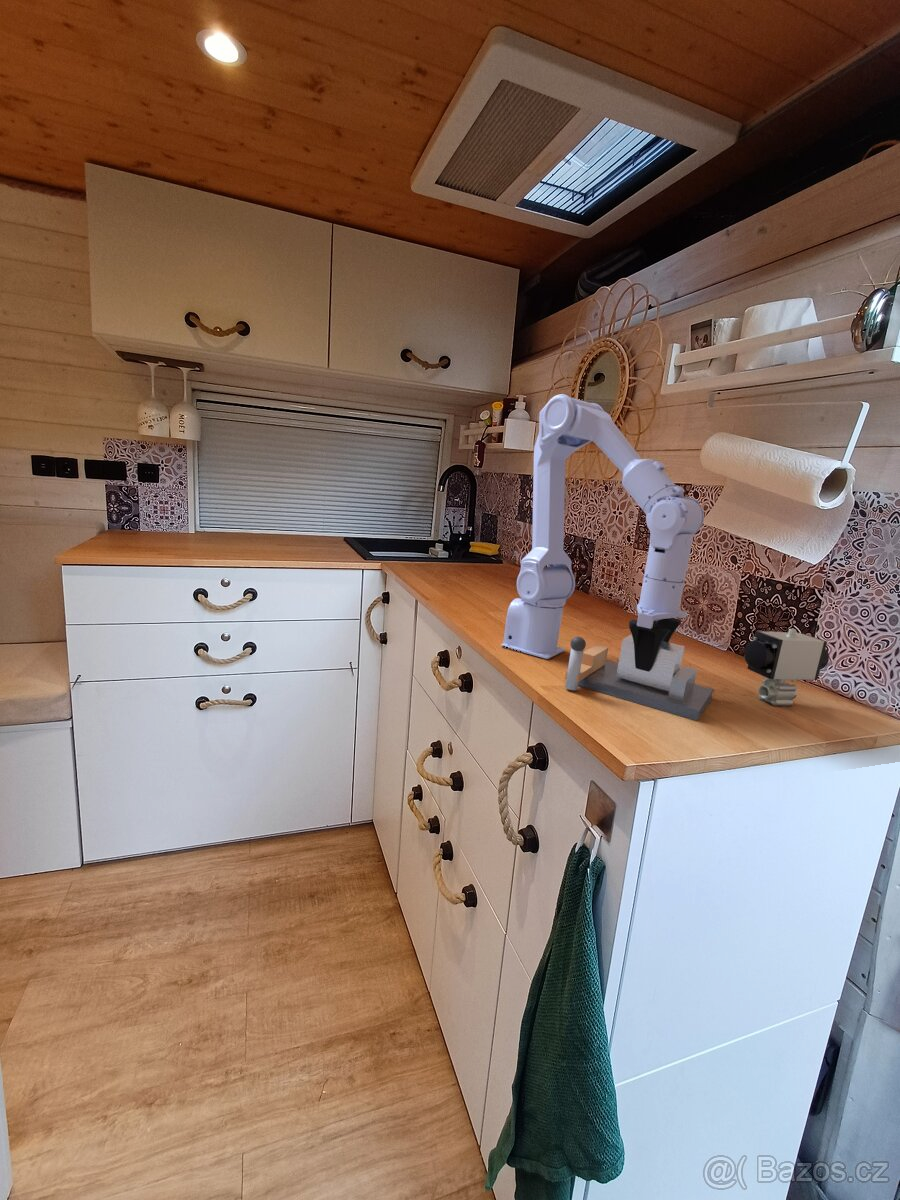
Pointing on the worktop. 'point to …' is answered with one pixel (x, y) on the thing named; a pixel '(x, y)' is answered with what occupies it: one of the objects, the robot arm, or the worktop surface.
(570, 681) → the ball knob lever
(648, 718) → the worktop surface
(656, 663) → the block
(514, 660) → the worktop surface
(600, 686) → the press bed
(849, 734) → the worktop surface
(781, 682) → the pneumatic valve
